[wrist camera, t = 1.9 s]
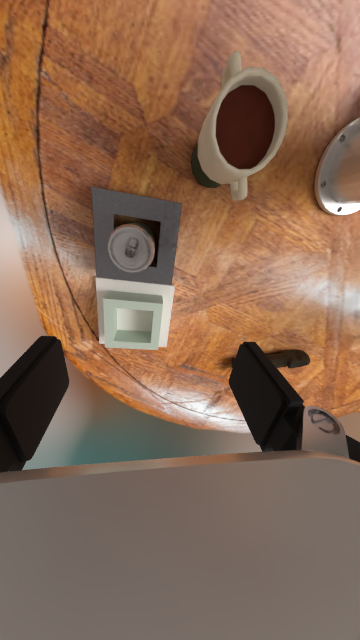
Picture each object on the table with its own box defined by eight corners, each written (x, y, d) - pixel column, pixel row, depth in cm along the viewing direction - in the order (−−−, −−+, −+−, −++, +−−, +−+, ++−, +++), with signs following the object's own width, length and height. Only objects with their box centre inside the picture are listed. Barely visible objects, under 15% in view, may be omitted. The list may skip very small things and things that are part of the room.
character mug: (237, 199, 31) (286, 188, 19) (195, 210, 31) (218, 206, 19) (231, 105, 25) (292, 13, 14) (179, 119, 25) (199, 40, 14)
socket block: (99, 190, 28) (91, 186, 24) (179, 205, 30) (182, 203, 27) (102, 271, 33) (96, 277, 30) (169, 278, 36) (171, 285, 32)
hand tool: (229, 368, 49) (236, 381, 45) (230, 355, 47) (238, 369, 43) (299, 358, 50) (312, 370, 46) (303, 346, 48) (316, 358, 44)
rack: (97, 276, 34) (88, 284, 29) (174, 284, 36) (176, 293, 32) (100, 340, 40) (93, 355, 36) (166, 344, 43) (167, 358, 38)
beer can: (126, 216, 30) (111, 215, 19) (159, 230, 31) (161, 236, 21) (118, 249, 32) (101, 265, 22) (149, 261, 34) (146, 280, 23)
